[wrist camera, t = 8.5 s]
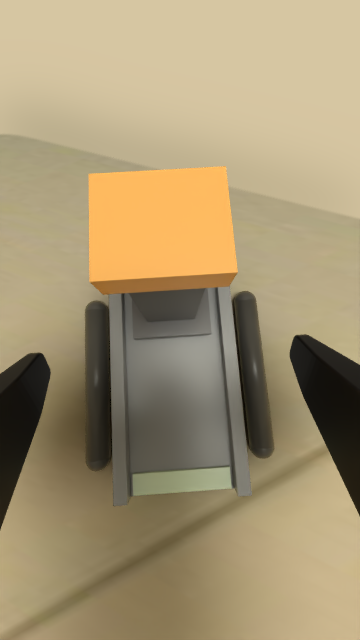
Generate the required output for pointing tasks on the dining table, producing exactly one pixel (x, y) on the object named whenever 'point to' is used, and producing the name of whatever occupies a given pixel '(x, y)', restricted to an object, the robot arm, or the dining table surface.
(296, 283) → the dining table surface
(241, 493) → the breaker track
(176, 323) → the orange-capped post
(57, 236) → the dining table surface
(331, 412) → the robot arm
